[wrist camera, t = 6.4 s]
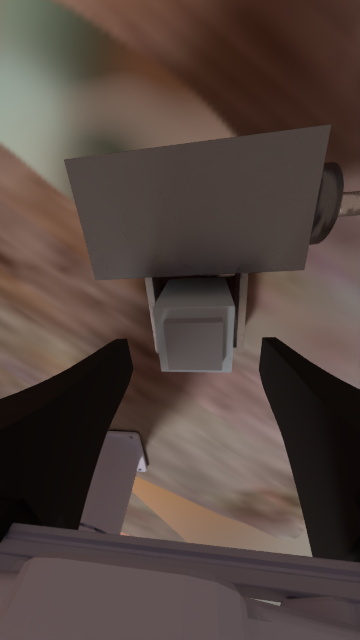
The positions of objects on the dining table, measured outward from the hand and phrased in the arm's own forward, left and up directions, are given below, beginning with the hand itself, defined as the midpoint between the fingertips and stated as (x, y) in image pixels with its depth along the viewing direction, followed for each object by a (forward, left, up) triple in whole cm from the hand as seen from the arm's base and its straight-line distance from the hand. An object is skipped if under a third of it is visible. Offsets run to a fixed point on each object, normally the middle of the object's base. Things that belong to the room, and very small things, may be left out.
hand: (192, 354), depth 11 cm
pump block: (0, 0, -7) cm, 7 cm away
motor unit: (+2, +3, -7) cm, 8 cm away
